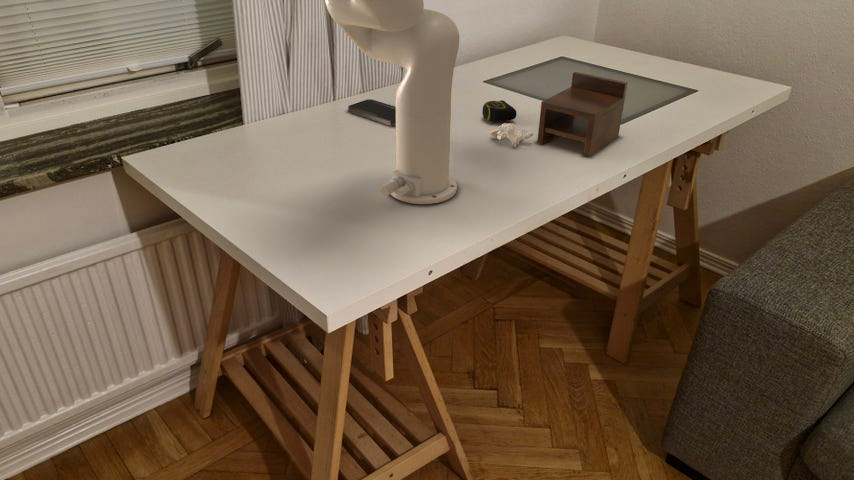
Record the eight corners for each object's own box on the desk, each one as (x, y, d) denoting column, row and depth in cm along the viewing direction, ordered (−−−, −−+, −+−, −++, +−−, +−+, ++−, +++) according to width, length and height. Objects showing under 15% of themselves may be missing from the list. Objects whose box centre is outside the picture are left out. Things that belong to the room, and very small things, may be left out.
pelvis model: (536, 126, 144) (514, 131, 141) (533, 145, 147) (511, 150, 143) (509, 115, 150) (487, 119, 146) (506, 134, 152) (484, 139, 148)
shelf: (588, 157, 140) (597, 99, 134) (537, 143, 147) (542, 87, 140) (618, 137, 150) (627, 82, 143) (568, 124, 156) (575, 71, 149)
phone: (369, 98, 167) (415, 113, 158) (369, 103, 167) (415, 117, 159) (345, 106, 162) (392, 122, 153) (345, 111, 162) (392, 126, 154)
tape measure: (517, 123, 156) (518, 107, 154) (488, 126, 155) (490, 110, 153) (504, 113, 162) (505, 98, 160) (477, 116, 160) (478, 100, 158)
